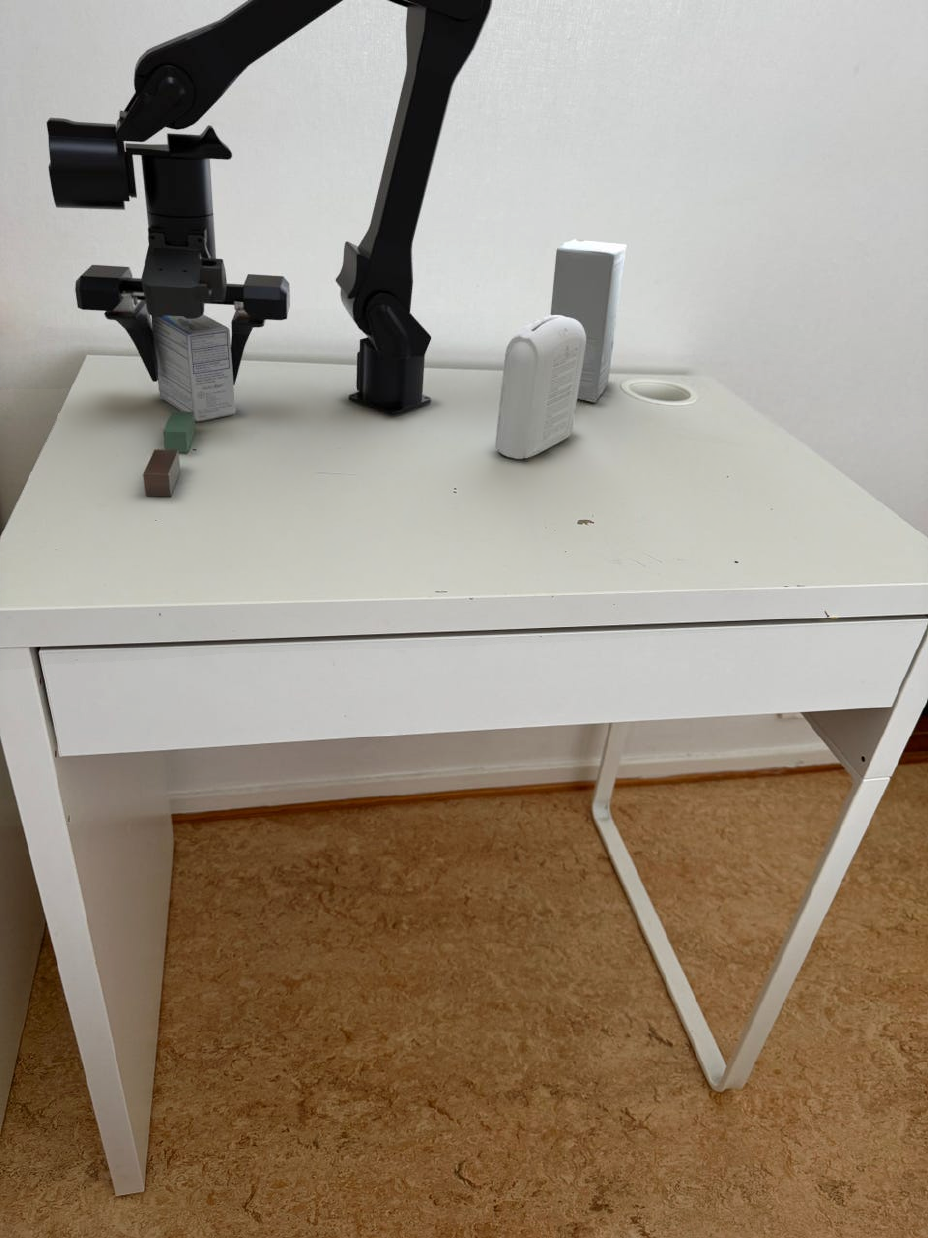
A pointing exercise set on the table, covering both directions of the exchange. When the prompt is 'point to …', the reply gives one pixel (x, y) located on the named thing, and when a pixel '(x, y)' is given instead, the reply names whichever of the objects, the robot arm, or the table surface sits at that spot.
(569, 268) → the cosmetic box
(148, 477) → the walnut bar
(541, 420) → the photo printer
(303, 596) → the table surface
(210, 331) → the medicine box
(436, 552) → the table surface
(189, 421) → the sage bar
